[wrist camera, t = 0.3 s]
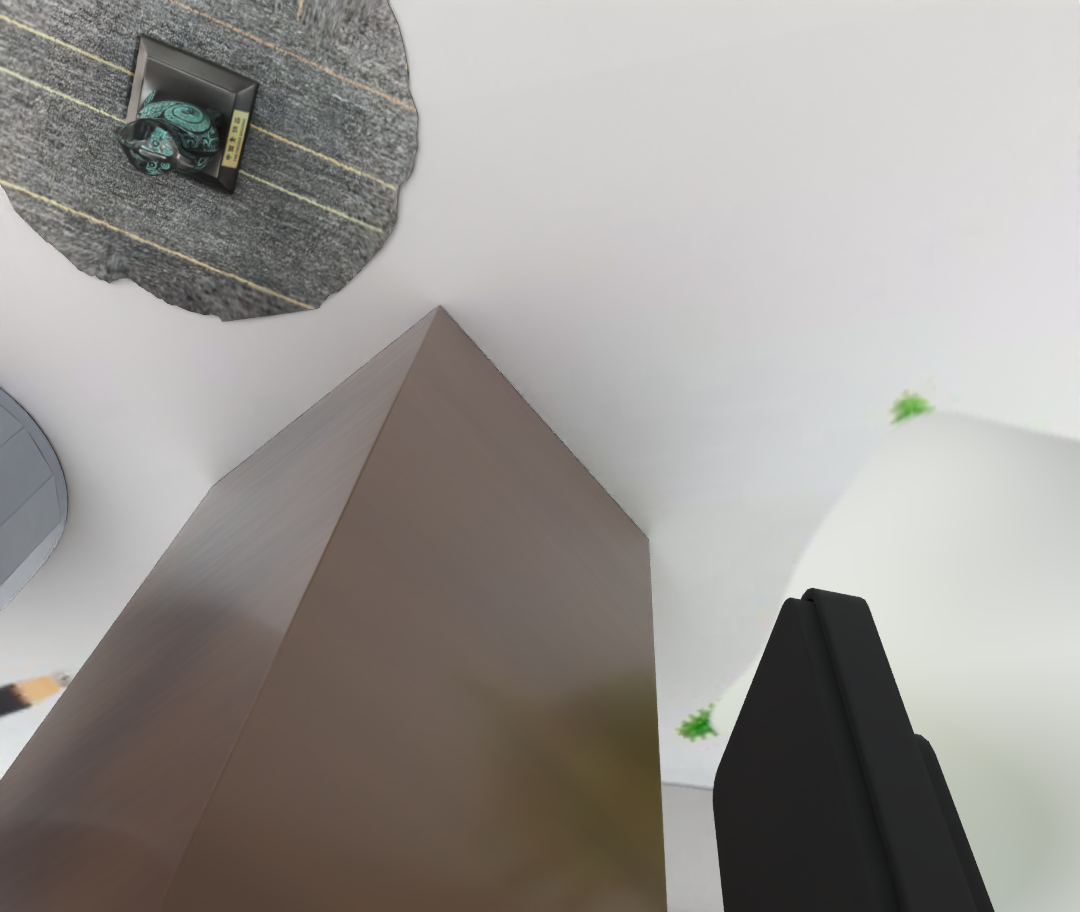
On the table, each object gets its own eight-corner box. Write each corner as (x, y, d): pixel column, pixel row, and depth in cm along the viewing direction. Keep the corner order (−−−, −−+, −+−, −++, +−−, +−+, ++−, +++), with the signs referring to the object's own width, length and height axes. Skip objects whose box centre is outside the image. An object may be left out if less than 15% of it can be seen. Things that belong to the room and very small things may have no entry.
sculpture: (459, 284, 28) (215, 409, 23) (287, 244, 34) (68, 338, 29) (346, -220, 22) (-15, -177, 17) (160, -159, 28) (-141, -116, 23)
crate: (439, 304, 28) (-165, 1601, 6) (649, 539, 31) (719, 1914, 10) (211, 486, 31) (-677, 1717, 10) (421, 680, 35) (100, 1916, 13)
